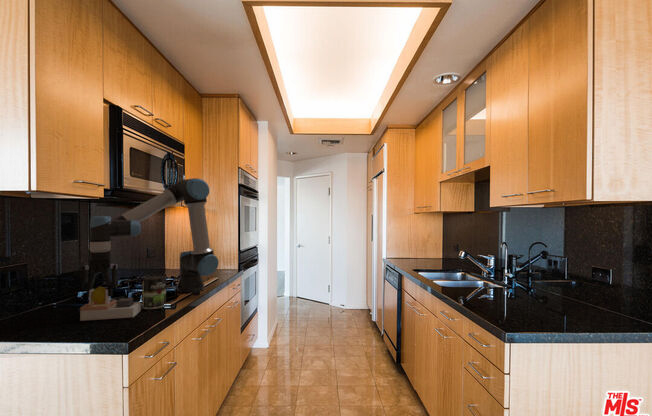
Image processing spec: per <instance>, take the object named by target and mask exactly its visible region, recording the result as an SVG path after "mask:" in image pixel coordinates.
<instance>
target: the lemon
mask: <svg viewBox="0 0 652 416" xmlns="http://www.w3.org/2000/svg"><path fill="white" fill-rule="evenodd" d="M106 289H107V288H106V287H103V286H98V287H96V288H94V291H93V294H92V299H93V301H94V302H95V303H98V304H99V305H100V304H102V303H103V302H104V301H105V290H106Z"/></svg>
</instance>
